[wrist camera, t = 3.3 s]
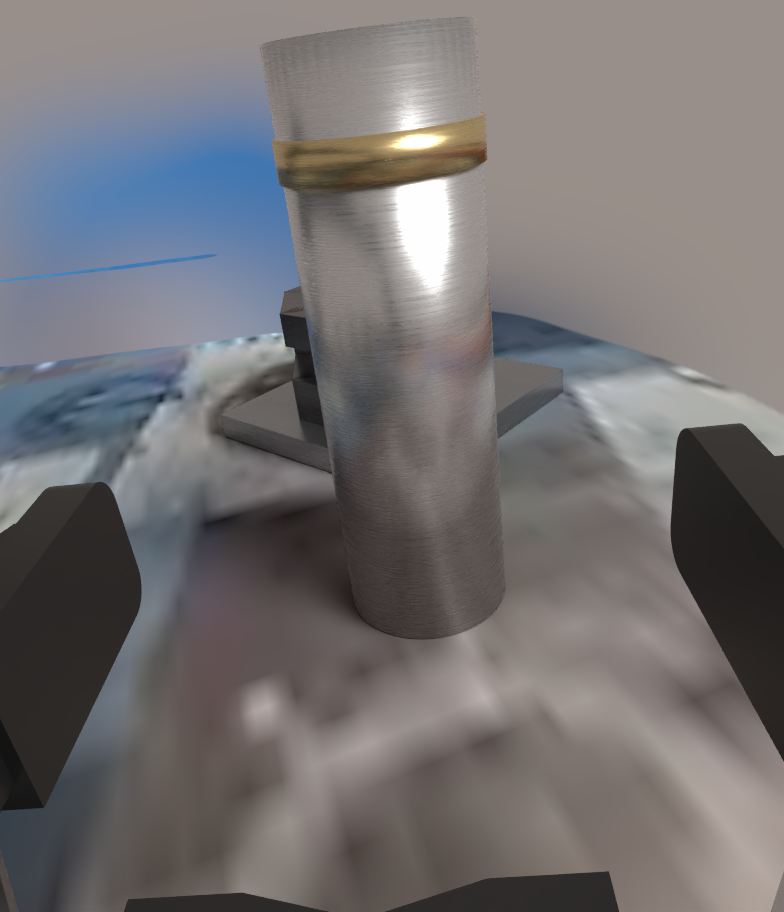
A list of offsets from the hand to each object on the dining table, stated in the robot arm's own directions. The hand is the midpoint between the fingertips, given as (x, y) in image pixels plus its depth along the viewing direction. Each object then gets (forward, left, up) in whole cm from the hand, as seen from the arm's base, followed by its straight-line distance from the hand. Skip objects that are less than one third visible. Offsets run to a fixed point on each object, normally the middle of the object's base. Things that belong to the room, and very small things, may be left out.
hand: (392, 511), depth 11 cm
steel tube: (-7, +8, -10) cm, 14 cm away
